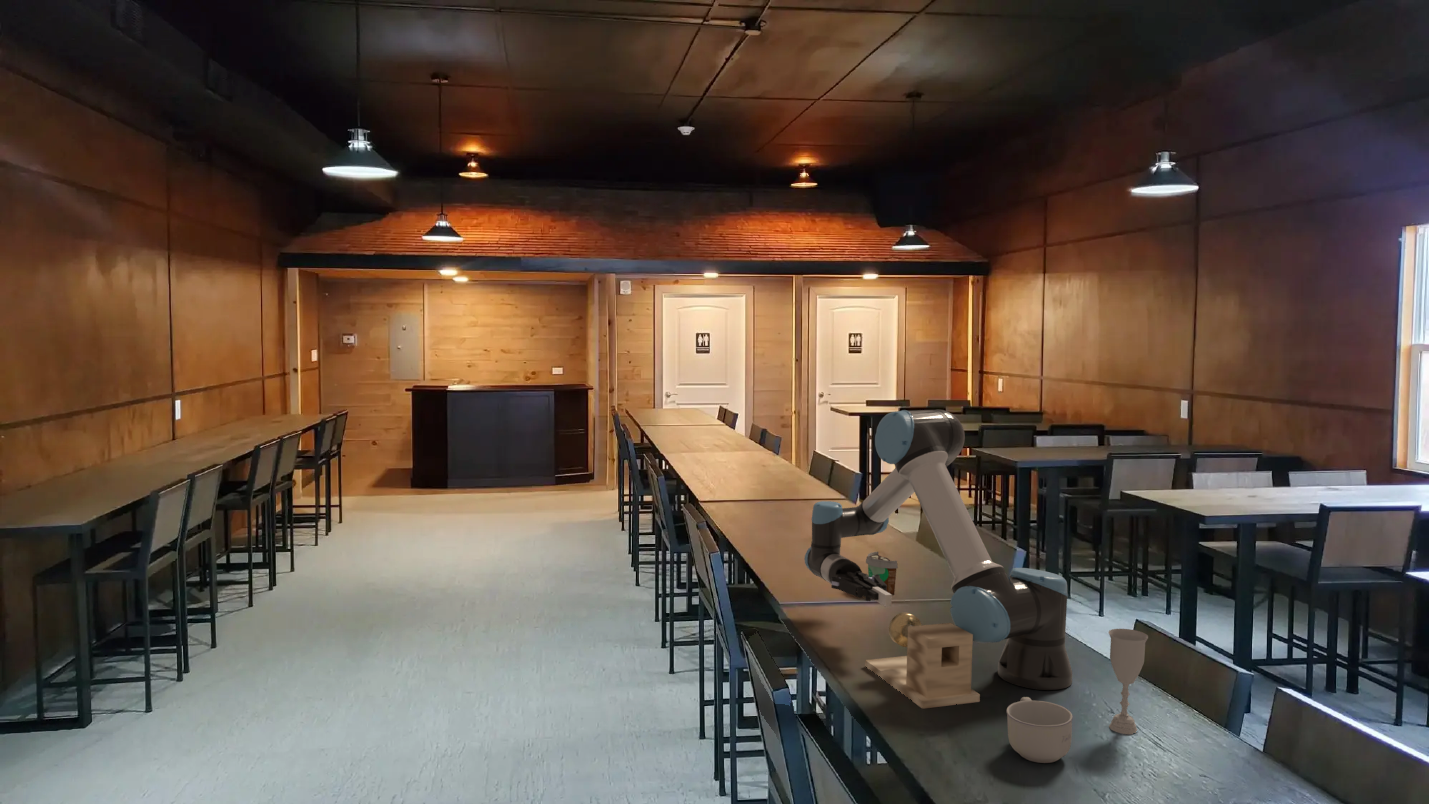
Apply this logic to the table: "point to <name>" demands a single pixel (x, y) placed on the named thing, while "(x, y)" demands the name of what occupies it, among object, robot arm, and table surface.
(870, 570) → the food container
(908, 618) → the shaft
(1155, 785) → the table surface
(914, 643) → the bearing stand
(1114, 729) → the chalice
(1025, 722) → the teacup
